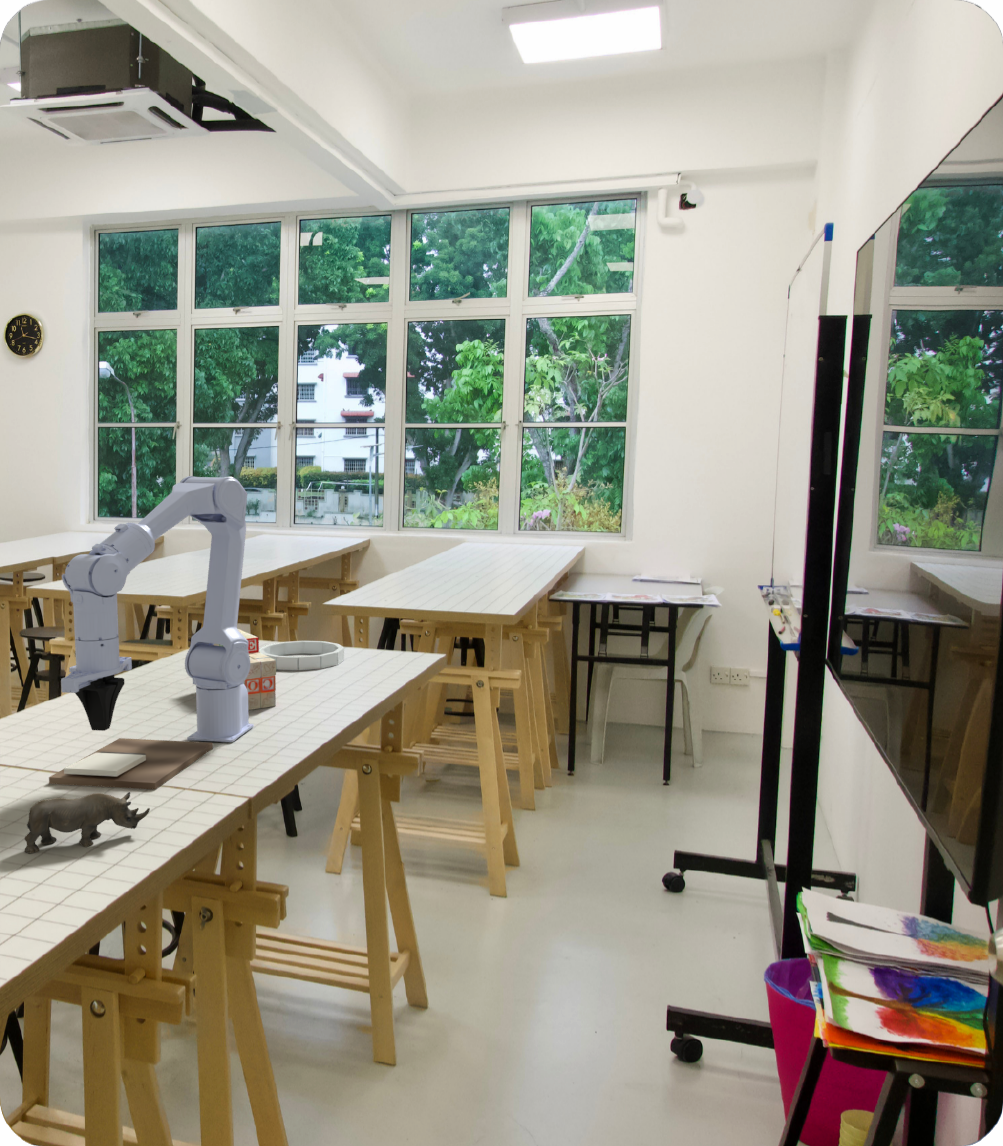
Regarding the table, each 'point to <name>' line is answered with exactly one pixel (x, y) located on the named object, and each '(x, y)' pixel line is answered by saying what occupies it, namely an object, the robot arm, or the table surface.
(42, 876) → the table surface
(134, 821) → the rhino figurine
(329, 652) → the shell dish rim
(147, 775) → the board
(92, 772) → the tile
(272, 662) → the stack of blocks
